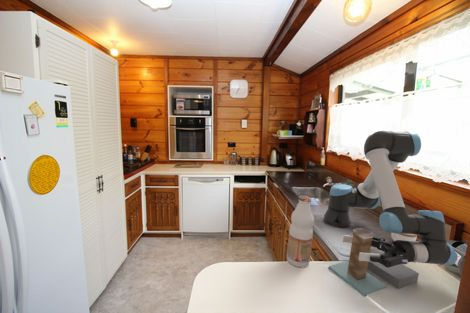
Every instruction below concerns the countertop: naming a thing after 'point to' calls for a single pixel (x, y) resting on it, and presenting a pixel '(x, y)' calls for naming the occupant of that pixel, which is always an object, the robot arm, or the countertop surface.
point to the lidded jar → (403, 237)
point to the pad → (361, 285)
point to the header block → (393, 273)
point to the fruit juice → (301, 234)
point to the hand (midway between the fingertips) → (350, 246)
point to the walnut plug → (359, 244)
